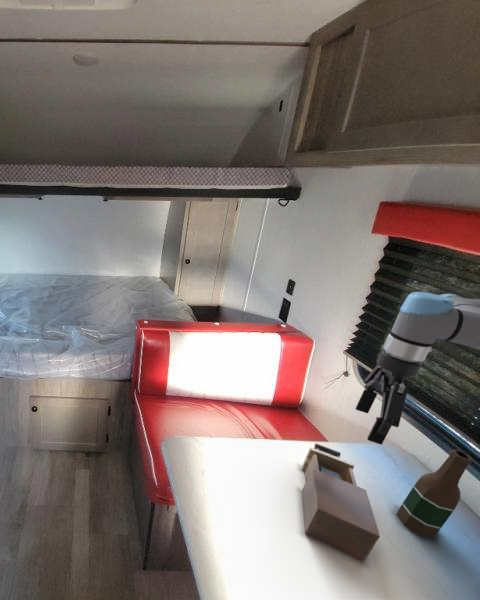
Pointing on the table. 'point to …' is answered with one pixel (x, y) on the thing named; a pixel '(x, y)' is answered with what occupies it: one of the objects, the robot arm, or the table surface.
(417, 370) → the robot arm
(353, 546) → the cabinet
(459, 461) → the beer bottle
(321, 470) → the block
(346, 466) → the drawer
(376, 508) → the table surface
